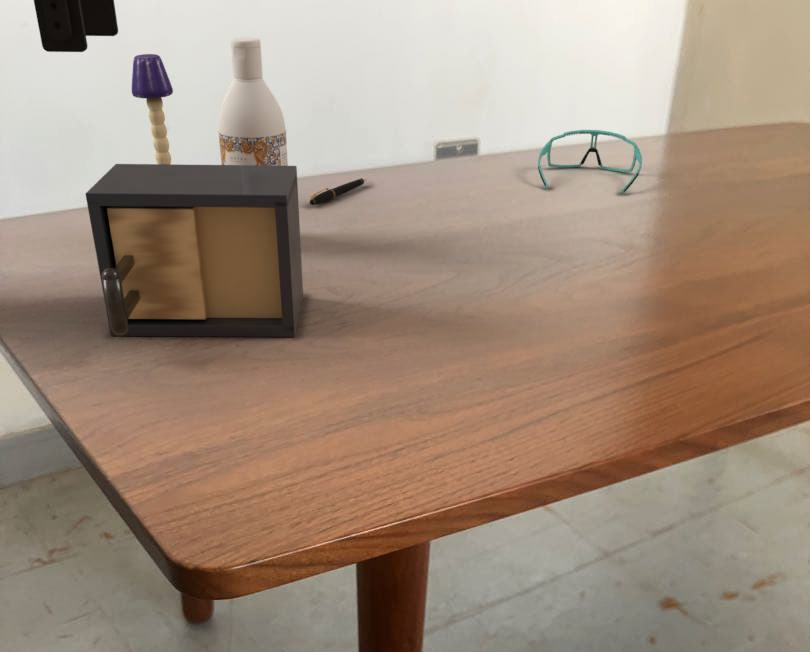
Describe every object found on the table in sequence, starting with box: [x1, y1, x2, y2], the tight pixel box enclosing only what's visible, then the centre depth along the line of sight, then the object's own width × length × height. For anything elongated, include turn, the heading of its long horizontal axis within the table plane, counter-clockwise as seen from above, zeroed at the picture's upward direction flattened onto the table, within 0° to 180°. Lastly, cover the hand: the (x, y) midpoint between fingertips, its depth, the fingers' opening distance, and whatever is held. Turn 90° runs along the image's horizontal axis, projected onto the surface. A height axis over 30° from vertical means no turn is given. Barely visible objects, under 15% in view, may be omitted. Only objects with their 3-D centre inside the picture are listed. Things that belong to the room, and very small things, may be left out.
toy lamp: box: [131, 53, 174, 164], centre depth 109 cm, size 5×5×17 cm
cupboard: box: [85, 163, 304, 338], centre depth 81 cm, size 16×10×12 cm, turn 91°
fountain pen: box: [309, 177, 368, 206], centre depth 118 cm, size 14×1×2 cm, turn 152°
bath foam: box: [217, 36, 289, 166], centre depth 96 cm, size 7×7×20 cm
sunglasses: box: [537, 129, 643, 195], centre depth 127 cm, size 14×15×5 cm
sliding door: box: [102, 206, 207, 335], centre depth 75 cm, size 7×7×9 cm
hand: (83, 42), depth 73 cm, fingers open, 9 cm apart
